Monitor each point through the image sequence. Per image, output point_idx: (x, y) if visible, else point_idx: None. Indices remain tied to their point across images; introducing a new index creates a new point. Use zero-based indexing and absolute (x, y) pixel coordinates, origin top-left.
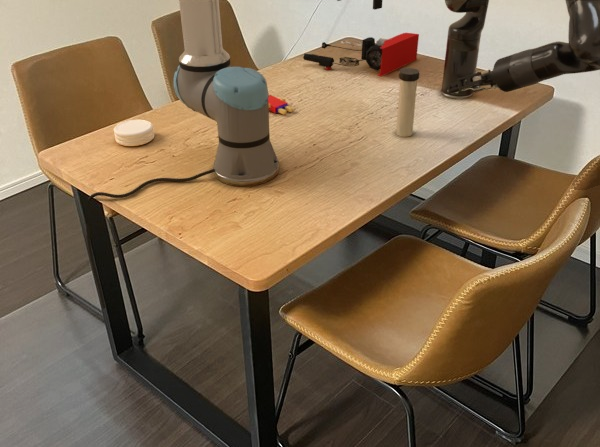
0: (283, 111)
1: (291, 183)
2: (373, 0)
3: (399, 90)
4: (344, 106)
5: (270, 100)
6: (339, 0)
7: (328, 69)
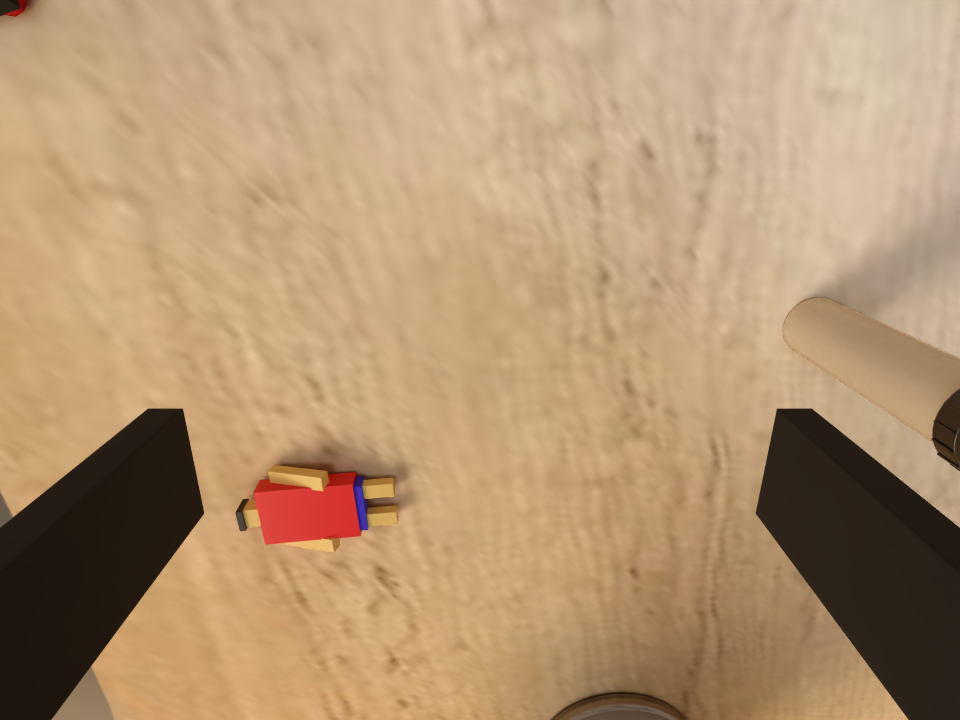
0: (394, 522)
1: (738, 717)
2: (813, 582)
3: (901, 421)
4: (474, 303)
5: (300, 518)
6: (199, 502)
7: (23, 7)
